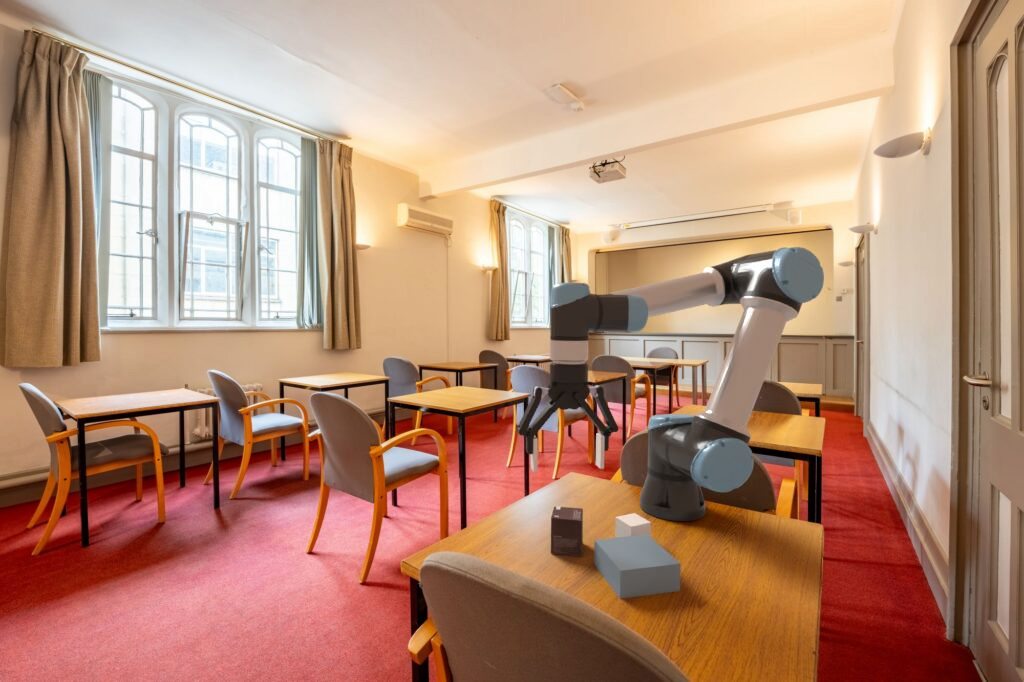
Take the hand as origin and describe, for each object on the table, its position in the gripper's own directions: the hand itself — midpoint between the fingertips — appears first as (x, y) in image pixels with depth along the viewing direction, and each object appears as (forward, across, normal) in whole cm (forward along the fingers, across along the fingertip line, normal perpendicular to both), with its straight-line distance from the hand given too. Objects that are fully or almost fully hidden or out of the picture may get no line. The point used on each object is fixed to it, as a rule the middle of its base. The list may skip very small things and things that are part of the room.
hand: (567, 468), depth 93 cm
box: (+16, 0, 0) cm, 17 cm away
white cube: (+16, -14, 0) cm, 22 cm away
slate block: (+16, -9, +12) cm, 22 cm away
